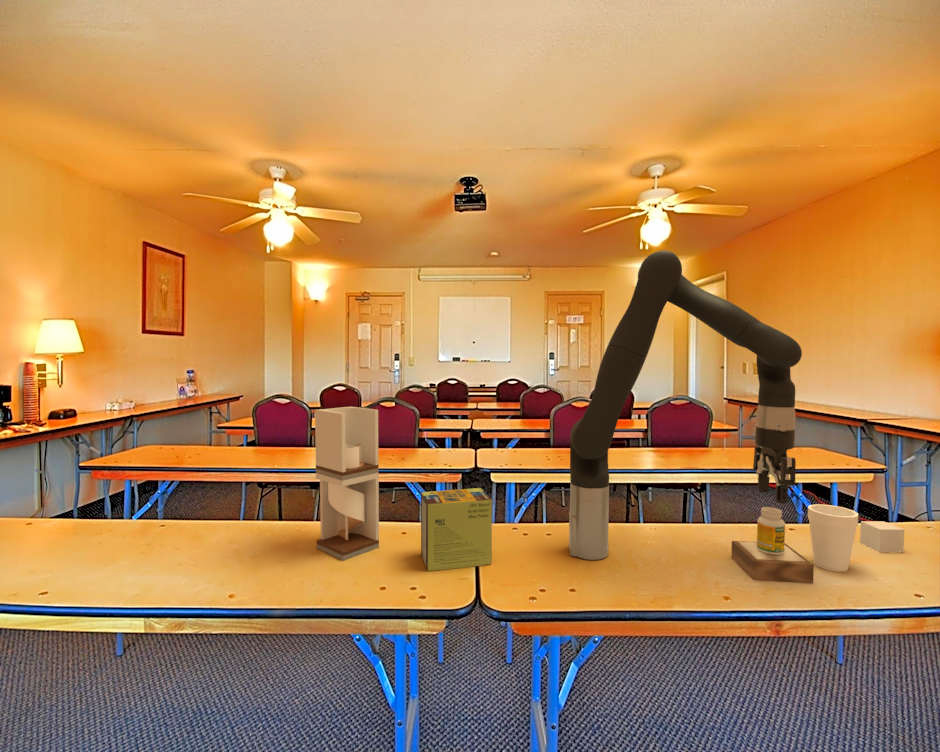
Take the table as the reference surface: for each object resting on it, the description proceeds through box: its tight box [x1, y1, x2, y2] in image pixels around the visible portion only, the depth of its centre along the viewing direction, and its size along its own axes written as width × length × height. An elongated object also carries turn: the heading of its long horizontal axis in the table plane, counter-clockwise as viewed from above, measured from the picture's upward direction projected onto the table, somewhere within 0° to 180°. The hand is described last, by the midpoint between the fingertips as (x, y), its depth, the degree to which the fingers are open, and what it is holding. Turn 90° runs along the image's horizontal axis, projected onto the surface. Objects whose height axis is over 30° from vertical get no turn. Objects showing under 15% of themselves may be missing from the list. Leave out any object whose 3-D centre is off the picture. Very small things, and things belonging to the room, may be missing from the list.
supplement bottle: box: [756, 506, 786, 555], centre depth 111 cm, size 5×5×10 cm
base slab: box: [730, 540, 815, 584], centre depth 111 cm, size 12×12×4 cm
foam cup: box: [807, 503, 859, 573], centre depth 113 cm, size 10×9×13 cm
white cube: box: [859, 520, 905, 553], centre depth 124 cm, size 6×6×6 cm
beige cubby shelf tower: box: [314, 406, 380, 562], centre depth 123 cm, size 11×11×35 cm
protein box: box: [420, 487, 493, 572], centre depth 117 cm, size 10×15×16 cm
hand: (771, 497), depth 111 cm, fingers open, 8 cm apart
